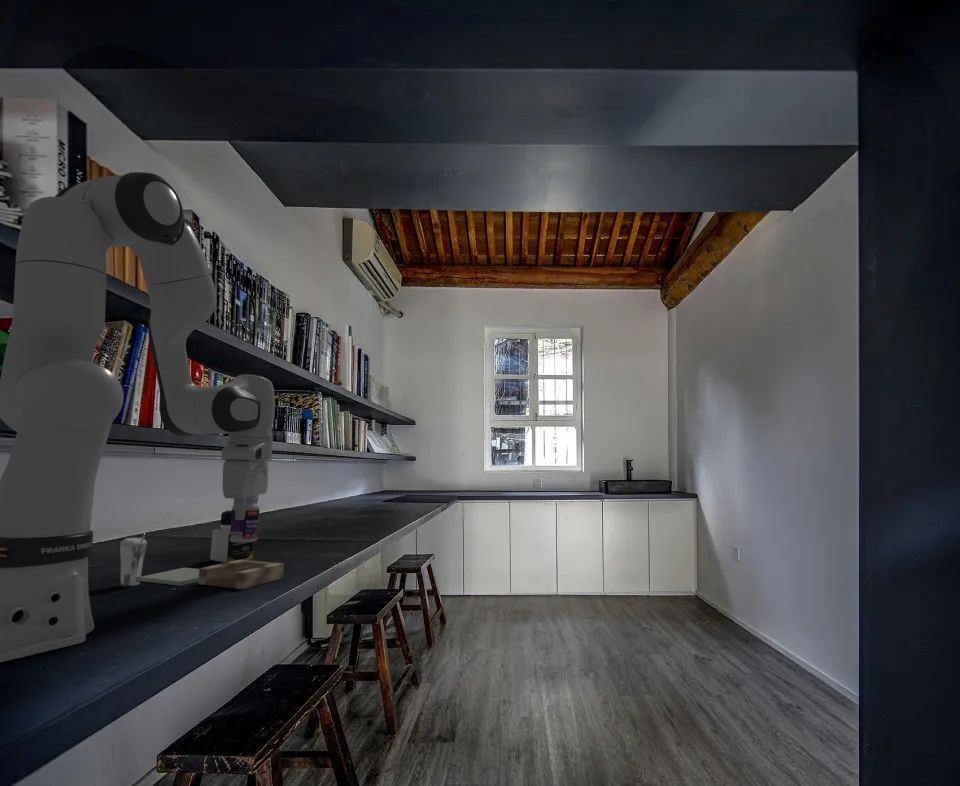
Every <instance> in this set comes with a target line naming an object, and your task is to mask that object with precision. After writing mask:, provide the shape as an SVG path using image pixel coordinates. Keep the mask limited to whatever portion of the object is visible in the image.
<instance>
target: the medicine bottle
mask: <svg viewBox="0 0 960 786" xmlns="http://www.w3.org/2000/svg"><path fill="white" fill-rule="evenodd" d="M231 516H232V509H230V510H225V511H223V512H222V513H221V515H220V529H215V530H214V529H213V530H212V532H211V542H210V543H211V547H210V558H209V559H210V561H216V562H220V563H227V562H232V561H236V560H241V559H242V560H253V558H254V557H253V556H254V555H253V554H254V542H231V541H230V529H231Z"/></svg>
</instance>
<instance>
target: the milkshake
mask: <svg viewBox="0 0 960 786" xmlns="http://www.w3.org/2000/svg"><path fill="white" fill-rule="evenodd" d="M145 537H146V534H145V533H144V534H142V537H129V538H128V537H127V538H124V539H123V540H122V541H120V544H119V545H120V548H119V549H120V553H119V554H120V586H121V587H136V586H138V585H140V583H141V581H140V578H141V577H142V572H143V565H144V560H145V555H146V550H147V544H148V542H147V540H146V539H145Z"/></svg>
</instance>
